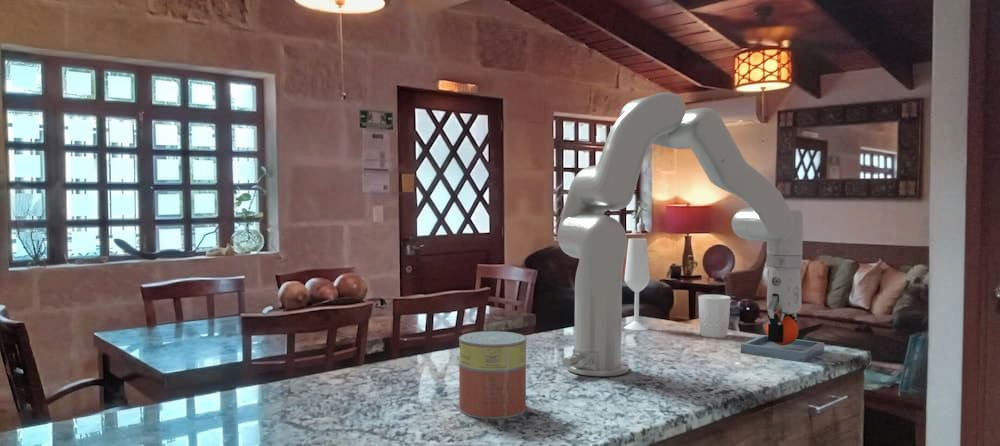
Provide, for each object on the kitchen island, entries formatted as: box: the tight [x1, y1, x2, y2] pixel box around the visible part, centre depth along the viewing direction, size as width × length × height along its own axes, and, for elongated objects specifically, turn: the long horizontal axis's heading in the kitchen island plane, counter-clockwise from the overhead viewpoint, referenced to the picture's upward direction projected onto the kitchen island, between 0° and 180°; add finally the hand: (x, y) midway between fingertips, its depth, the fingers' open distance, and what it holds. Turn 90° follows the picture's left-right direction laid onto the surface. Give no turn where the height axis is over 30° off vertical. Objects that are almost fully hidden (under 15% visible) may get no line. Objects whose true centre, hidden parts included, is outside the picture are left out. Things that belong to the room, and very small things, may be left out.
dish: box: [740, 334, 825, 363], centre depth 163 cm, size 14×14×2 cm
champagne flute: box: [623, 237, 651, 331], centre depth 192 cm, size 7×7×24 cm
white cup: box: [697, 294, 732, 339], centre depth 182 cm, size 8×8×10 cm
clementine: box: [765, 315, 799, 345], centre depth 163 cm, size 8×7×7 cm
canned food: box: [458, 330, 528, 420], centre depth 119 cm, size 11×11×12 cm
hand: (782, 338), depth 163 cm, fingers closed on clementine, 8 cm apart
